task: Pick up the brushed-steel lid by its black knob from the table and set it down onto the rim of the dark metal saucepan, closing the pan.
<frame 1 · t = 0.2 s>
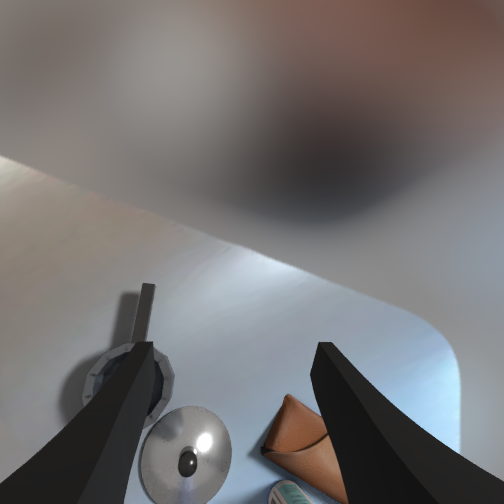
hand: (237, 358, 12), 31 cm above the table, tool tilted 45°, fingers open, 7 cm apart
lid: (187, 454, 37), on the table
saucepan: (134, 384, 38), on the table
white labeled canister: (284, 499, 37), on the table
sunglasses case: (324, 451, 40), on the table
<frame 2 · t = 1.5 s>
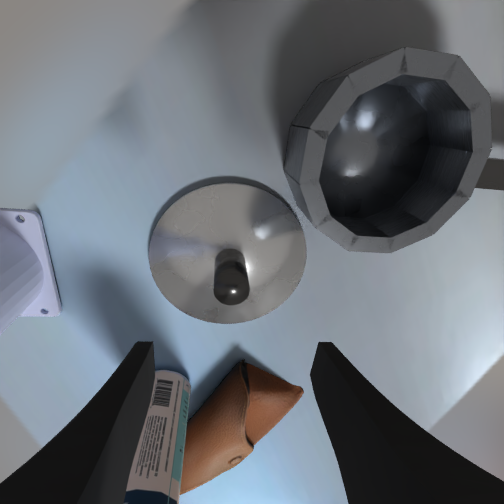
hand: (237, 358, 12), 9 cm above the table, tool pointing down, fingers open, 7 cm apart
lid: (229, 257, 21), on the table
saucepan: (361, 155, 18), on the table
white labeled canister: (165, 382, 26), on the table
sunglasses case: (222, 420, 30), on the table
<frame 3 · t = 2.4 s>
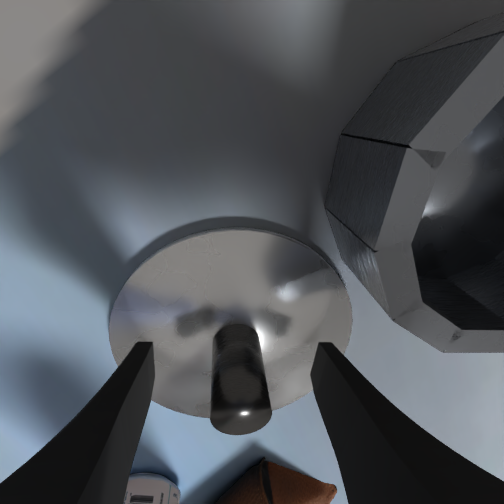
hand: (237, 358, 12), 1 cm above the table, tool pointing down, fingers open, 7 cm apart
lid: (235, 330, 14), on the table
saucepan: (451, 183, 11), on the table
white labeled canister: (144, 484, 19), on the table
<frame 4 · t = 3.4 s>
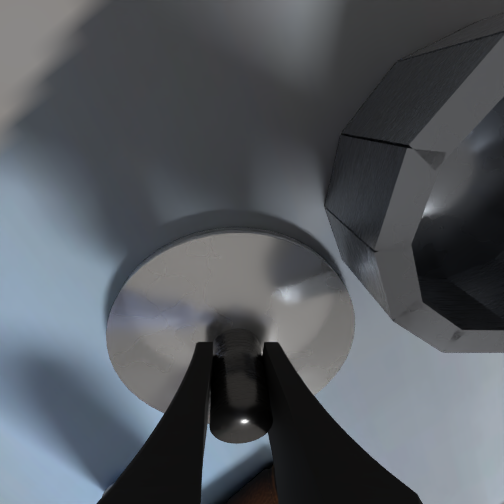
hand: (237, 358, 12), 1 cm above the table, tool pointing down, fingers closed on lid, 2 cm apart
lid: (235, 334, 14), on the table, touching gripper
saucepan: (451, 183, 11), on the table
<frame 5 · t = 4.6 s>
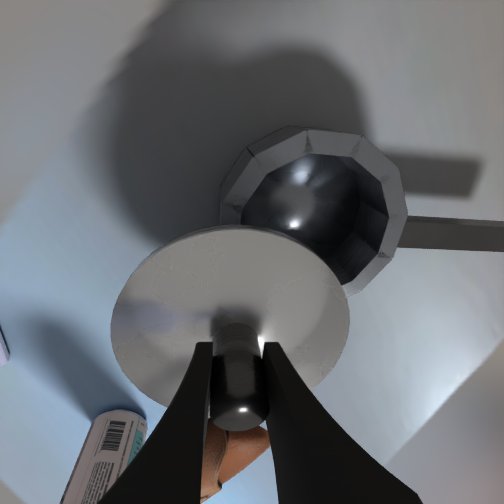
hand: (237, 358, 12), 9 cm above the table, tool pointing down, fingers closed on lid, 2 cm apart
lid: (234, 329, 14), point 7 cm above the table, touching gripper
saucepan: (295, 210, 19), on the table
white labeled canister: (122, 419, 26), on the table
sunglasses case: (193, 456, 31), on the table
when the fingers open (7 cm above the table, at t = 5.9 s): lid stays where it is, resting on saucepan.
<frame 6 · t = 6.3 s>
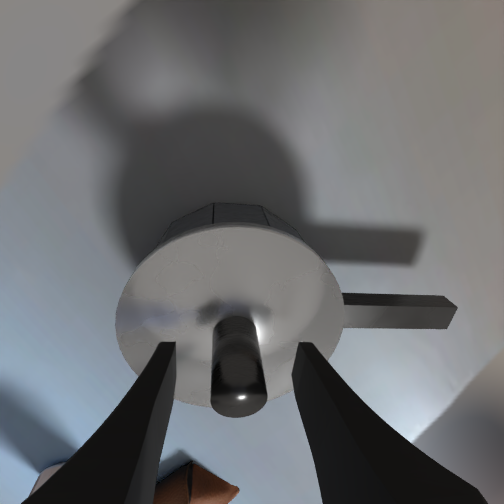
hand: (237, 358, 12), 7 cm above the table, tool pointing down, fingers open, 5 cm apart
lid: (234, 323, 15), point 4 cm above the table, touching saucepan
saucepan: (231, 279, 18), on the table
white labeled canister: (72, 470, 26), on the table
sunglasses case: (155, 502, 31), on the table
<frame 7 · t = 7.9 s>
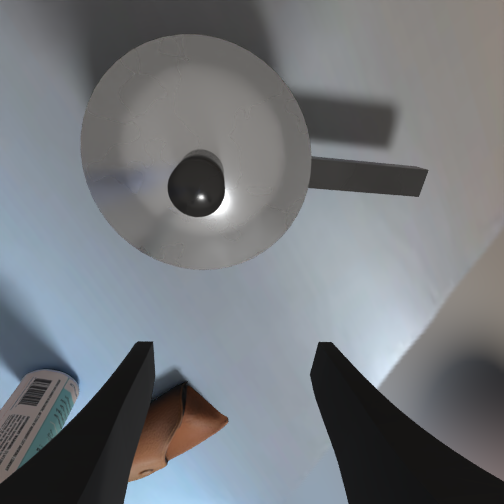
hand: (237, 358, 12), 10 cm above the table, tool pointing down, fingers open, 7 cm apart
lid: (202, 169, 15), point 4 cm above the table, touching saucepan
saucepan: (206, 155, 18), on the table
white labeled canister: (54, 381, 26), on the table
sunglasses case: (144, 430, 31), on the table
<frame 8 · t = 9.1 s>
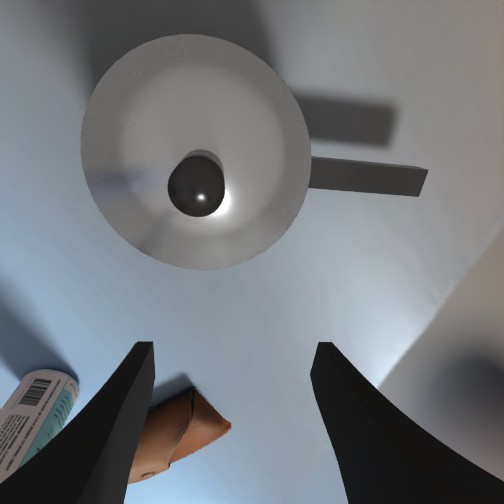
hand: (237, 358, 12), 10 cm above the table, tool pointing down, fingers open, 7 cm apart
lid: (202, 169, 15), point 4 cm above the table, touching saucepan
saucepan: (206, 155, 18), on the table
white labeled canister: (54, 381, 26), on the table
sunglasses case: (146, 433, 31), on the table
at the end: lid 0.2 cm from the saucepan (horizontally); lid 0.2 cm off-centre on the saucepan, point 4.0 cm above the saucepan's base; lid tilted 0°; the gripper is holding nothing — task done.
